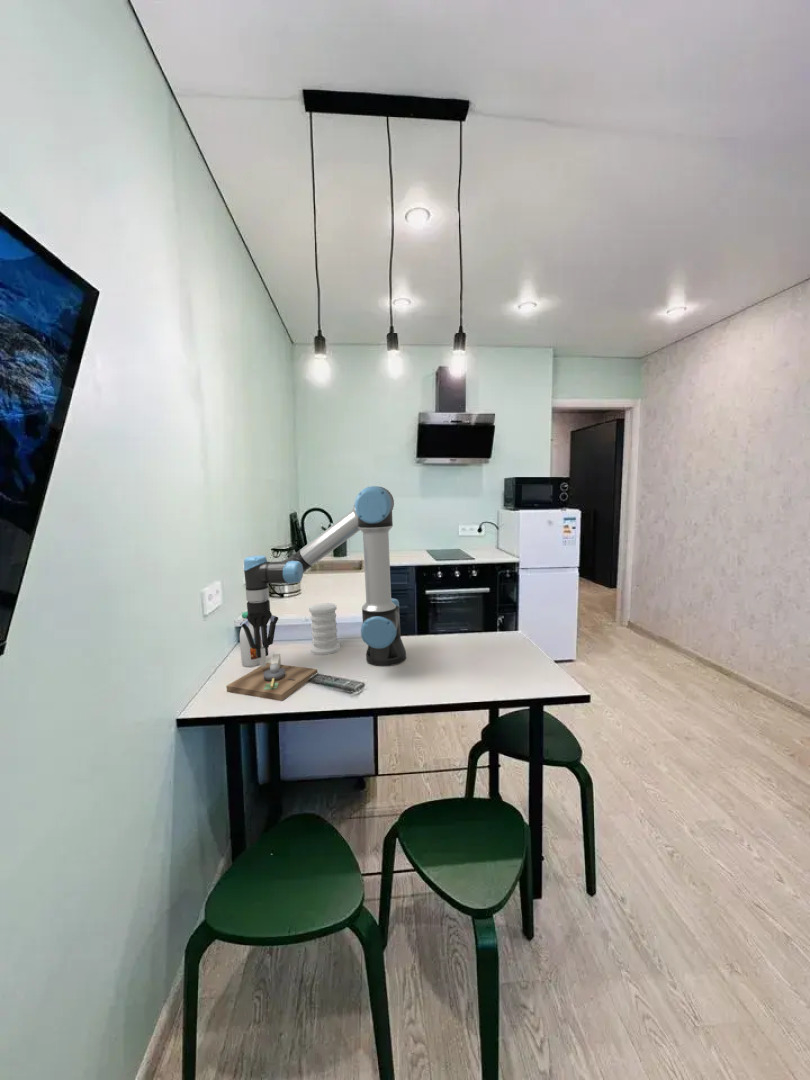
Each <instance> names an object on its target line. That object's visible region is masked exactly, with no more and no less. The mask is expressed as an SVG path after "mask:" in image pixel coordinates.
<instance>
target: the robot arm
mask: <svg viewBox="0 0 810 1080" xmlns="http://www.w3.org/2000/svg"><path fill="white" fill-rule="evenodd" d="M394 507H395V501H394V496H393V494H392V493H391V491H389V490H388V489H387V488H385V487H382V486H376V485H371V486H367V487H365V488H363V489H361V491H359V493H358V494H357V495H356V498H355V500H354V504H353V507H352V509H351V510H350V511H349V512H347V513H346V514H345V515H344V516H342V517H341V518H340V519H338V520H337V521H336V522H335V523H333V524H332V525H330V526H329V527H328V528H327V529H325V530H324V531H323V532H322V533H320V534H319V535H317V536H316V537H315V538H314V539H312V540H311V541H310V542H308V543H307V544H306V545H304V546H303V547H302V548H301V549H299V550H297V552H295V553H294V554H292V555H291V556H290V557H288V558H286V559H284V560H281V561H268V559H267V556H265V555H250V556H247V557H245V558H244V559H243V572H244V582H245V583H244V584H245V595H246V596H245V599H246V602H247V603H246V612H248V615H247V620H246V621H244V622H243V621H242V622H240V627H243V628H244V631H245V634H246V637H247V639H248V642H249V645H250V647H251V648H252V649H256V656H257V657H258V658H259V662H260V664H259V667H260V666H262V667H265V666H266V663H267V657H268V656H269V647H270V646H271V645H273V644H274V637H275V634H276V633H275V632H276V631H275V630H276V626H277V623H278V621H279V617H278V616H277V615H273V614H272V611H271V604H270V600H269V599H270V591H269V589H270V588H269V584H293V583H294V584H296V583H300V582H301V581H302V579H303V576H304V574H305V572H307V571H308V570H309V569H310V568H312V567H313V566H314V565H315V564H316V563H318V562H319V561H321V560H322V559H324V558H325V557H326V556H327V555H329V554H330V553H331V552H333V551H334V550H335V549H337V548H338V547H339V546H341V545H342V544H344V543H345V542H346V541H347V540H349V539H350V538H351V537H353V536H354V535H355V534H357V533H358V532H359V531H361V532H362V542H363V546H362V547H363V560H364V561H363V563H364V581H365V584H364V585H365V586H364V587H365V603H364V604H363V605H362V607H361V612H362V613H361V614H362V615H361V616H362V624H361V627H360V635H361V639H362V641H363V642H364V643H365V644H366V645H367V650H366V653H365V657H366V658H365V659H366V662H367V663H368V664H370V665H373V666H376V667H377V666H379V667H389V666H394V665H399V664H400V663H403V662H405V661H406V660H407V651H406V648H405V645H404V643H403V640H402V638H401V623H400V622H401V618H400V608H401V607H400V602H399V599H397V598H395V597H394V598H393V597H392V586H391V565H390V560H391V559H390V539H389V538H390V537H389V534H390V533H389V531H391V529H392V528H393V527H394V526H393V525H394V524H393V510H394ZM249 623H250V624H251V625H252V626H253V629H254V639H255V644H254V641H253V638H252V635H251V632H250V629H249V628H248V627H249ZM268 623H269V628H268ZM260 633H261V642H262V646H261V643H260Z"/></svg>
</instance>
